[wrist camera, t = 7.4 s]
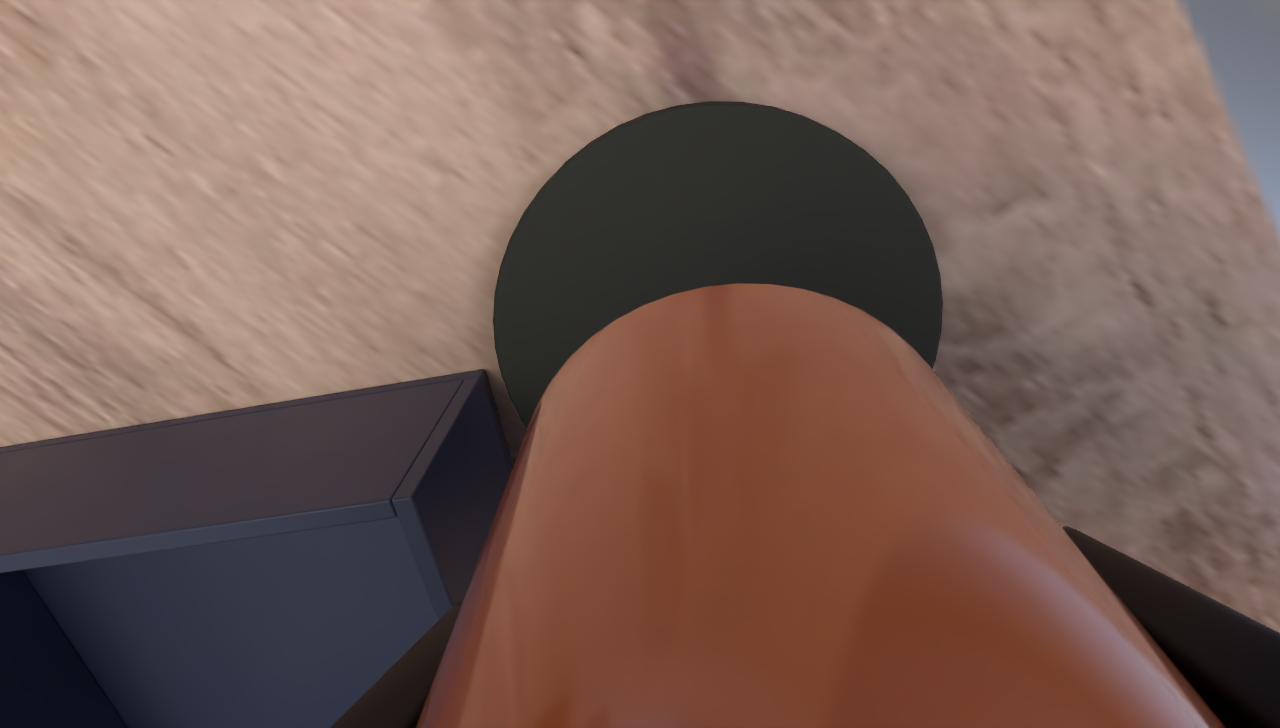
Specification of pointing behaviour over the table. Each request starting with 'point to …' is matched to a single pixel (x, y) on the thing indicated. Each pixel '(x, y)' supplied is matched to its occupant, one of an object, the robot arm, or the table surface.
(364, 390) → the carton
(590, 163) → the disc
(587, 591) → the cup
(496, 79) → the table surface
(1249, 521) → the table surface
